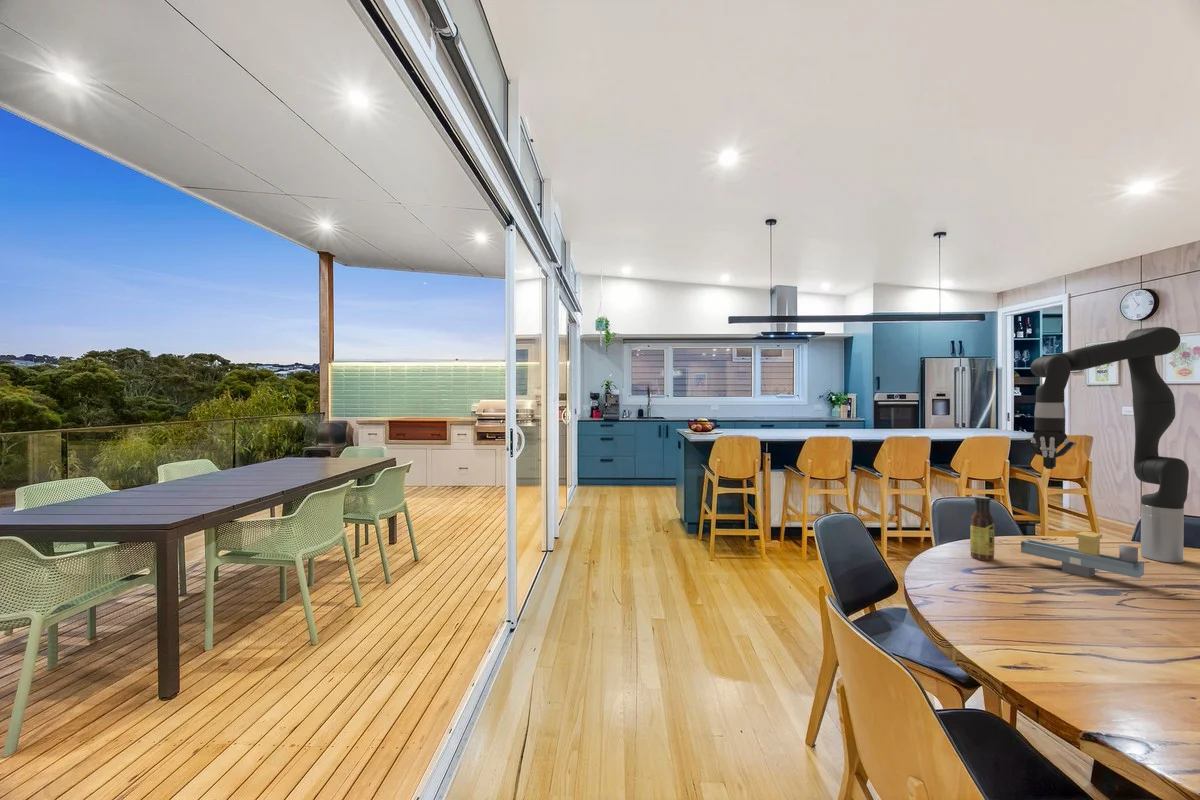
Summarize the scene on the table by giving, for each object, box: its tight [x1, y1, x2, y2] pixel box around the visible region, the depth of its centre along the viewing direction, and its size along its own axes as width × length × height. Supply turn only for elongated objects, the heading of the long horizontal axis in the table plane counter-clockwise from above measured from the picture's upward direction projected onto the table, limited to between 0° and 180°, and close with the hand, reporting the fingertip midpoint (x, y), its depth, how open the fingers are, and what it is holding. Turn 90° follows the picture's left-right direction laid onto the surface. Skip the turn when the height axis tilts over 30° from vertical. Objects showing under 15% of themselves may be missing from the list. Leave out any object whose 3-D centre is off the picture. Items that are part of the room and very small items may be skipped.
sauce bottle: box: [969, 495, 995, 561], centre depth 162 cm, size 6×6×20 cm
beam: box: [1020, 538, 1145, 579], centre depth 149 cm, size 26×5×10 cm, turn 31°
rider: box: [1075, 530, 1103, 557], centre depth 147 cm, size 4×6×7 cm, turn 121°
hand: (1049, 468), depth 165 cm, fingers closed
